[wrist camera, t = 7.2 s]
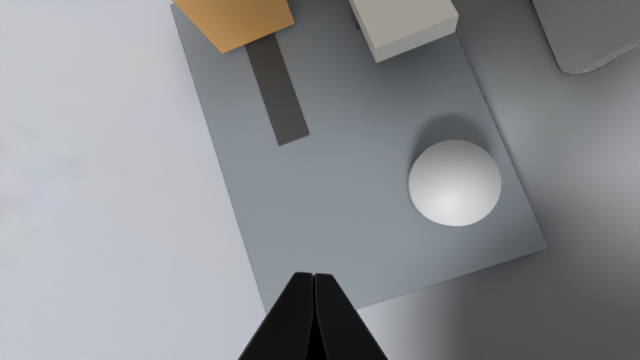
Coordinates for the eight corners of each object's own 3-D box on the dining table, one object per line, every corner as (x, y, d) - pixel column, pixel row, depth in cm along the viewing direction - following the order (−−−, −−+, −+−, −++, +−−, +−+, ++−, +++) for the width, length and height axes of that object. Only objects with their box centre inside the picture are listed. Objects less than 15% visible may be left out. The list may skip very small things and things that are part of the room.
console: (537, 245, 16) (576, 253, 13) (278, 329, 17) (259, 354, 14) (398, -81, 18) (404, -137, 15) (179, 15, 20) (146, -20, 17)
